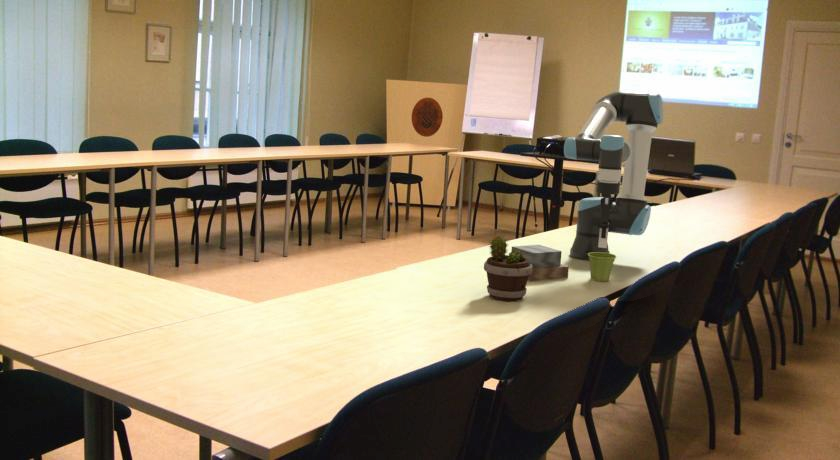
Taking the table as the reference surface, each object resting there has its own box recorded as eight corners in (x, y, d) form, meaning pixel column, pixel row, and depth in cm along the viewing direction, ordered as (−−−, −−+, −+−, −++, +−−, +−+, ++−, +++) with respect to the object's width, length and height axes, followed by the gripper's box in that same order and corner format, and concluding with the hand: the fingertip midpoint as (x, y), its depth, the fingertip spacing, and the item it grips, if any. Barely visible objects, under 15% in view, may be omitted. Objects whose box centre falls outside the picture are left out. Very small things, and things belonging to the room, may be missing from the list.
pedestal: (537, 268, 292) (539, 243, 291) (567, 277, 279) (570, 252, 277) (501, 271, 284) (503, 245, 282) (531, 281, 270) (533, 254, 269)
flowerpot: (534, 294, 253) (539, 231, 249) (524, 306, 238) (529, 238, 235) (489, 289, 257) (493, 226, 254) (476, 299, 243) (480, 233, 240)
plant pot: (614, 284, 273) (616, 258, 272) (585, 281, 275) (587, 256, 273) (613, 278, 282) (615, 253, 281) (585, 275, 284) (587, 251, 282)
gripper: (598, 178, 286) (592, 238, 289) (596, 183, 262) (590, 249, 265) (620, 179, 284) (614, 240, 287) (620, 185, 260) (613, 251, 263)
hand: (602, 244), depth 276 cm, fingers open, 13 cm apart
